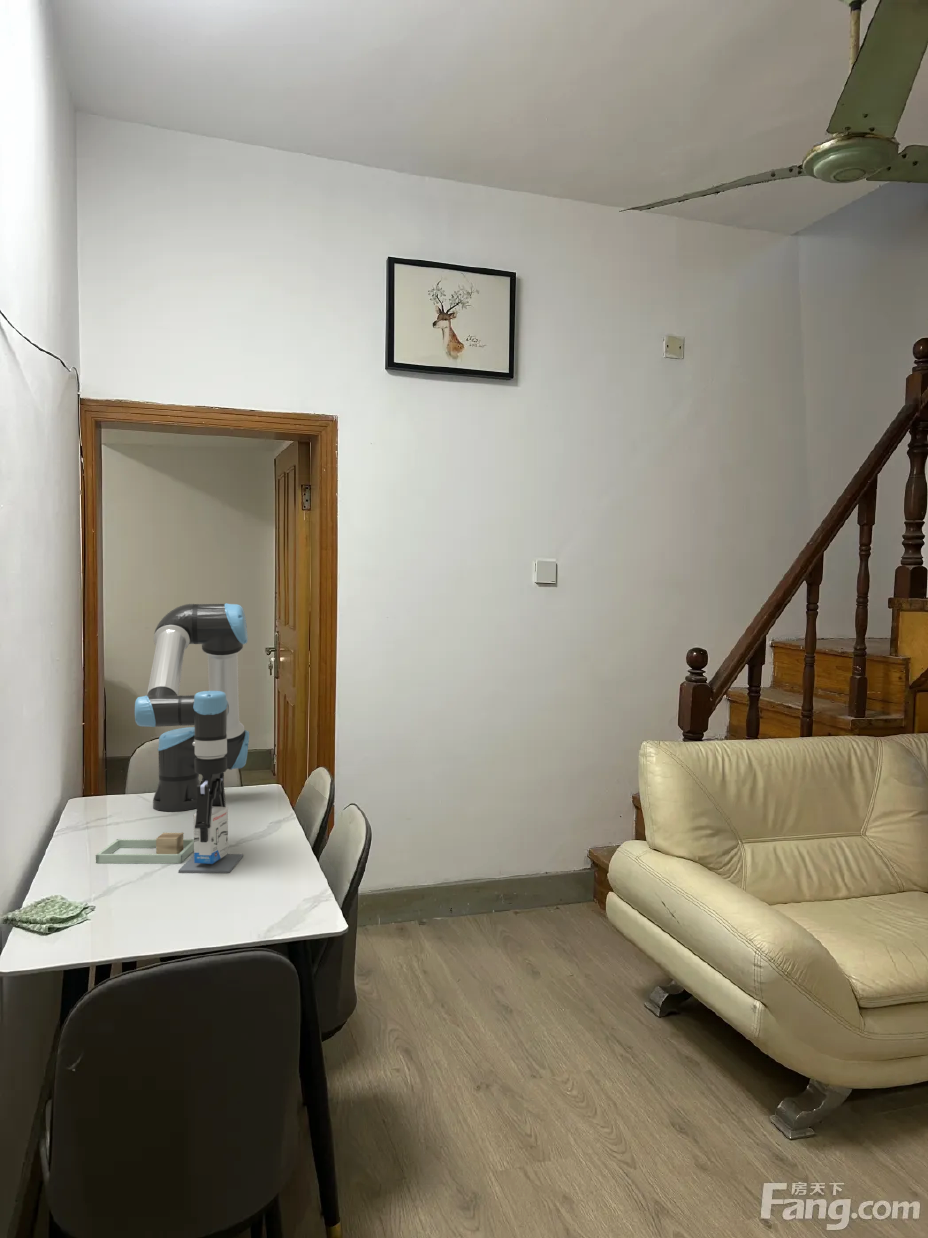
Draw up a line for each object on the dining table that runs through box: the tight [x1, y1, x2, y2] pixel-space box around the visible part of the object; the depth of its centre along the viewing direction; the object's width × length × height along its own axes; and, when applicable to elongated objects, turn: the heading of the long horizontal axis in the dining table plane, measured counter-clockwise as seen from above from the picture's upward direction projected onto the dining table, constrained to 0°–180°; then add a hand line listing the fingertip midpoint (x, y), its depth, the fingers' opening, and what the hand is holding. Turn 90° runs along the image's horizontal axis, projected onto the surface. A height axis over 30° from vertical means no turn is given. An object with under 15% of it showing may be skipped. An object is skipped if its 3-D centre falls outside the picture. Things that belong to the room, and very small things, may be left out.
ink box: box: [193, 806, 229, 864], centre depth 202 cm, size 9×5×12 cm, turn 168°
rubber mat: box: [178, 853, 244, 874], centre depth 202 cm, size 12×12×1 cm
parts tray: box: [95, 838, 194, 864], centre depth 209 cm, size 13×21×2 cm, turn 90°
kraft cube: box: [155, 832, 184, 854], centre depth 209 cm, size 5×5×5 cm
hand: (211, 848), depth 202 cm, fingers closed on ink box, 9 cm apart
